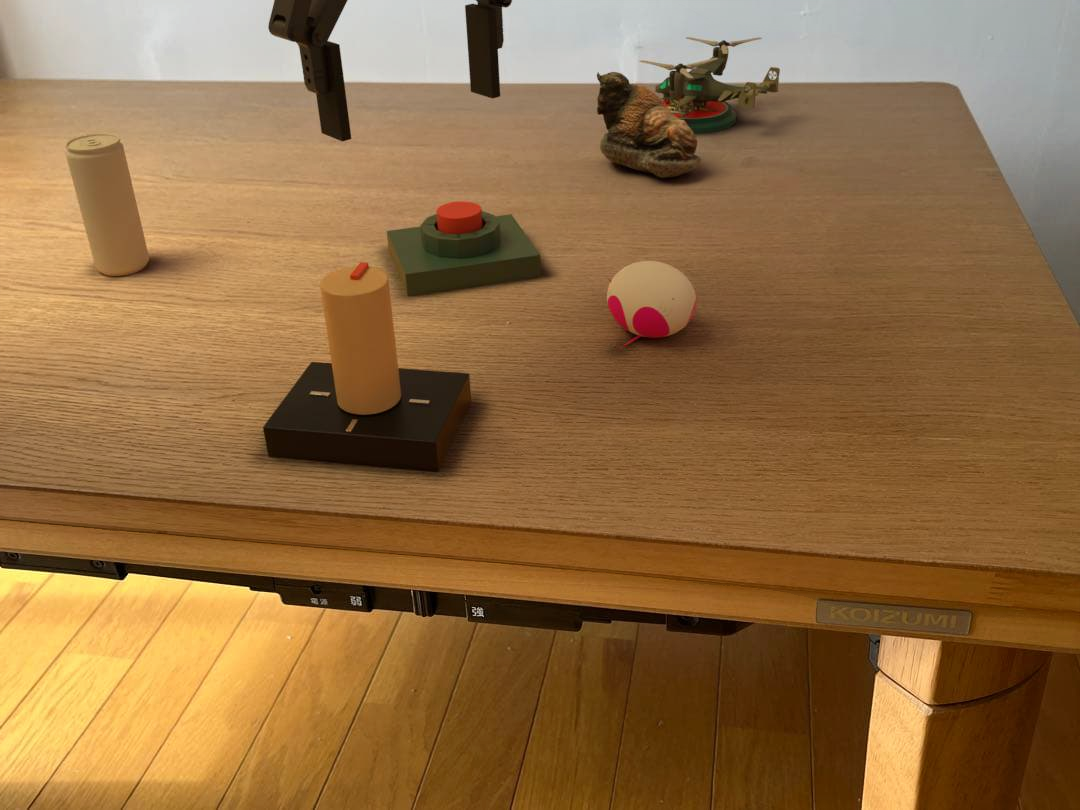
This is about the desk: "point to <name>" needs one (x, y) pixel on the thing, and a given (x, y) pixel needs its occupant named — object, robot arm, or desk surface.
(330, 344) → the knob
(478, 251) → the button box
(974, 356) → the desk surface
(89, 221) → the beverage can
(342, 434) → the panel
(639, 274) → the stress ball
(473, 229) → the button
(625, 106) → the bison figurine
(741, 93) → the toy helicopter
